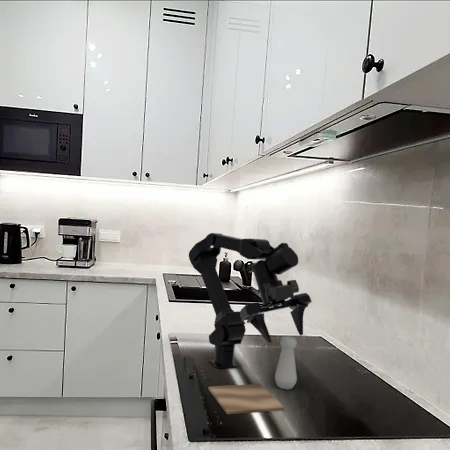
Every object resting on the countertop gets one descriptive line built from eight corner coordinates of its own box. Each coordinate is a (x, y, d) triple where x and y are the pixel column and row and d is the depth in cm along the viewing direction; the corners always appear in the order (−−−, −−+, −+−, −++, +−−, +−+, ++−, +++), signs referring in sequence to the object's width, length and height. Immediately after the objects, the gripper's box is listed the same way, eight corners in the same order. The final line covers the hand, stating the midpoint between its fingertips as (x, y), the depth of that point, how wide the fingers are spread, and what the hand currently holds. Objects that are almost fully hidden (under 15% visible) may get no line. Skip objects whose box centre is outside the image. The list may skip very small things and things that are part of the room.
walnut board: (208, 388, 105) (208, 386, 105) (259, 386, 109) (259, 383, 109) (227, 414, 91) (227, 411, 91) (284, 409, 96) (284, 407, 96)
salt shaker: (293, 383, 114) (297, 335, 114) (298, 391, 108) (302, 341, 108) (272, 381, 113) (276, 333, 113) (275, 390, 108) (279, 339, 108)
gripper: (245, 276, 102) (264, 339, 96) (310, 265, 109) (332, 323, 103) (232, 291, 112) (248, 349, 106) (293, 280, 118) (311, 334, 112)
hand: (286, 338), depth 106 cm, fingers open, 9 cm apart
